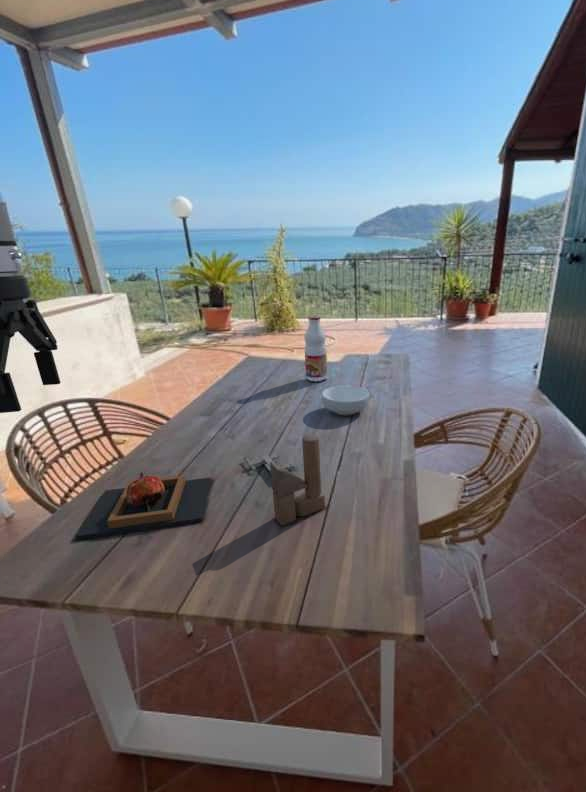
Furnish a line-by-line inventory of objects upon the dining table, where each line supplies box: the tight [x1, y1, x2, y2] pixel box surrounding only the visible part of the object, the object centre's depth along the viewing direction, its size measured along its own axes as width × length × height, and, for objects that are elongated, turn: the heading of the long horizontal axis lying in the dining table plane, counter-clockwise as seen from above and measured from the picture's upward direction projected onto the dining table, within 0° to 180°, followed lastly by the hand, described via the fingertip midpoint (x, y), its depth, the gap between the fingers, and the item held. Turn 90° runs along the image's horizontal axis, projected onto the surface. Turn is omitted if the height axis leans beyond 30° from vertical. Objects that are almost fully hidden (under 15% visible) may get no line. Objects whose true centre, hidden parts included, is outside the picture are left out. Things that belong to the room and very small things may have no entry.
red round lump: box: [126, 472, 164, 512], centre depth 87 cm, size 7×7×10 cm
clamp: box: [243, 455, 295, 474], centre depth 103 cm, size 15×2×10 cm
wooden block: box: [270, 433, 326, 526], centre depth 84 cm, size 4×11×18 cm, turn 125°
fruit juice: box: [303, 315, 328, 378], centre depth 168 cm, size 9×9×28 cm
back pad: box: [75, 475, 212, 541], centre depth 88 cm, size 24×16×3 cm, turn 103°
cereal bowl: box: [321, 385, 370, 416], centre depth 139 cm, size 17×17×7 cm
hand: (33, 396), depth 70 cm, fingers open, 13 cm apart
